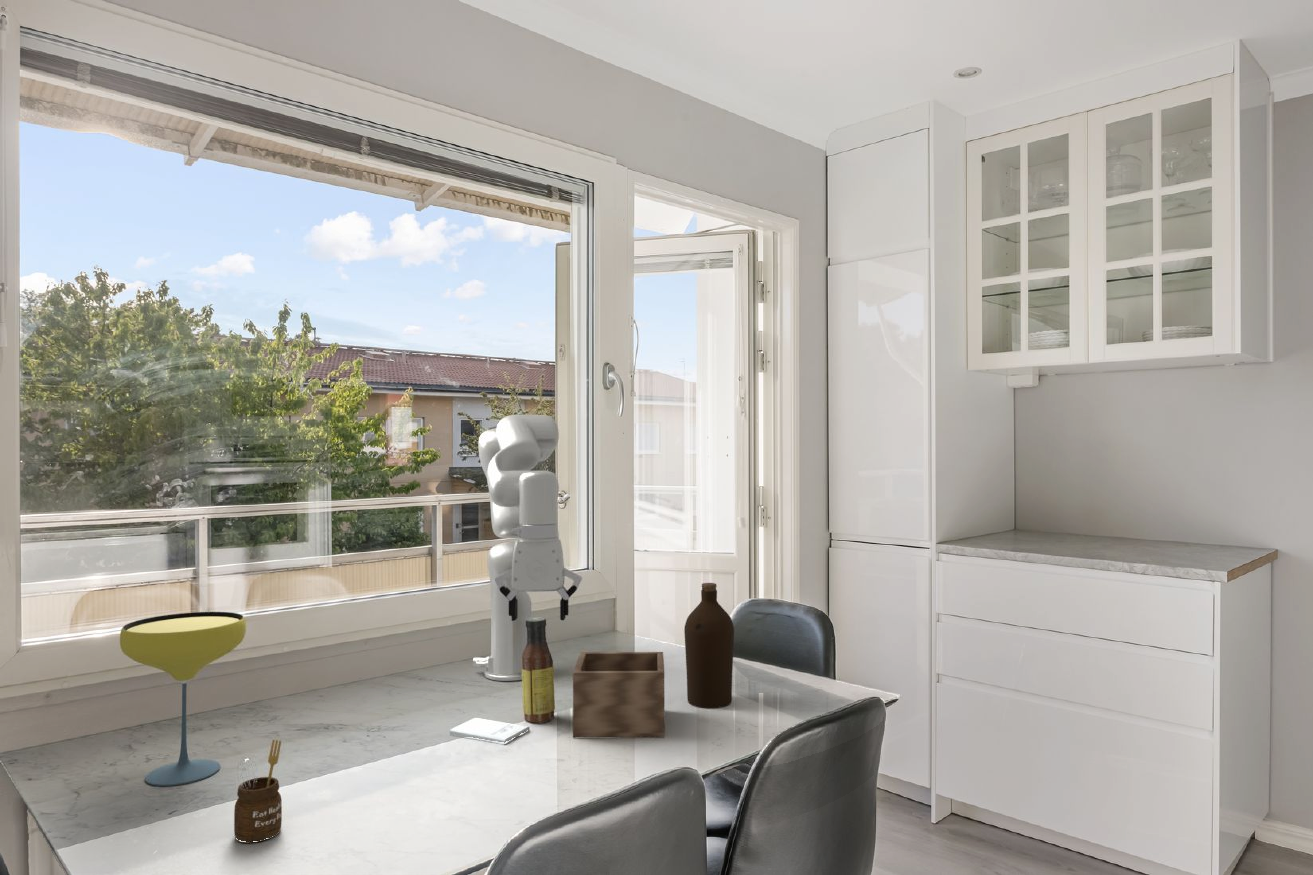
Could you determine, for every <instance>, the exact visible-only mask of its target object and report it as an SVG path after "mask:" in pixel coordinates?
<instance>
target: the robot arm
mask: <svg viewBox="0 0 1313 875" xmlns="http://www.w3.org/2000/svg"><path fill="white" fill-rule="evenodd" d="M559 433H560V431H559V425H557V422H556V420H555V419H554V418H553V417H552V416H550V415H547V414H510V415H507V416H504V417H502V418H501V419H500V420H499V421H498V423H497V425H496V428H490V429H487V430H485V431H483V432H482V433H481V434H480V436H479V438H478V444H477V445H478V446H477V447H478V456H479V461H480V465H481V469H482V470H483V473H484V475H485V477H486V481H487V488H488V492H489V502H490V519H491V520H490V521H491V527H492V532H493V534H494V535H495V536H496V537H498V538H500V539H517V540H515V541H507V542H501V543H497V544H495V545H493V546H492V547H491V548H490V549H489V550H488V553H487V560H486V561H487V568H488V575H489V584H490V585H489V586H490V599H491V600H490V601H491V602H490V604H491V605H490V609H491V610H490V611H491V612H490V615H491V617H490V618H491V619H490V626H491V631H490V634H491V635H490V636H491V637H490V638H491V639H490V641H491V642H490V647H491V648H490V652H491V653H490V655H486V657H481V656H480V657H479V656H478V657H477V656H473V660H472V664H473V666H475V667H476V668H483V667H484V668H486V669H485V670H484V677H485V678H487V679H488V680H492V681H498V682H499V681H500V682H511V681H512V682H513V681H514V682H515V681H522V653H523V651H524V649H525V647H526V645H527V628H526V620H527V619H529V618H532V598H531V596H530V594H529V593H528V592H530V593H531V592H535V593H536V592H557V593H558V594H559V596H560V597H561V599H560V601H559V610H560V611H559V619H560V620H561V621H565V620H566V616H569V613H570V612H569V599H570V597H572V595H574V594H575V593H576V591H577V590H578V589H579V586H580V584H581V582H582V581H583V576H582V575H580V574H578V573H576V572H574V571H572V570H569V568H566V567H565V561H564V560H565V559H564V553H563V547H562V546H563V545H562V540H561V539H560V535H559V534H560V533H559V525H558V524H559V523H558V497H559V492H560V491H559V490H560V488H559V487H560V486H559V485H560V484H559V480H558V478H557V475H556V474H555V473H554V472H552V471H549V470H533V469H534V468H536V466H537V465H538V463H540V462H545V461H546V460H548V459H549V458H550V457H551V455H552V454H553V452H554V451H555V449H556V447H557V446H558V443H559V438H560V435H559ZM566 577H567V578H569V579H570V580H572V581H573V583H572V585H571V586H570V587H569V588H568V589H567V588H566V587H565V586H564V585H565V578H566Z"/></svg>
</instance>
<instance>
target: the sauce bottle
mask: <svg viewBox="0 0 1313 875" xmlns="http://www.w3.org/2000/svg"><path fill="white" fill-rule="evenodd" d="M546 627H547V619H546V618H544V617H540V616H539V617H531V618H529V619H527V620H526V628H527V645H526V647H525V649H524V651H523V653H522V680H521V684H522V685H521V686H522V709H523V713H524V714H523V716H524V717H523V718H524V720H525V721H526V722H529V723H532V722H533V723H534V724H540V722H543V723H547V722H550V721H552V720H553V719H554V718H555V709H556V706H555V704H556V702H555V701H556V700H555V678H554V677H555V676H554V660H553V657H552V653H551V651H550V649H549V645H548V642H547V636H546V635H547V634H546V633H547V632H546V630H547V629H546ZM546 721H547V722H546ZM533 723H532V724H533Z"/></svg>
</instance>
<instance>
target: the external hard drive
mask: <svg viewBox="0 0 1313 875" xmlns="http://www.w3.org/2000/svg"><path fill="white" fill-rule="evenodd" d="M527 730H529V731H530V726H527V725H520V724H515V723H508V722H504V721H498V720H492V719H485V718H480V717H474V718H471V719H470V720H468V721H465V722H463V723H461V724H459V725H457V726H454V727H453V728H450V729H449V736H452V737H457V736H458V737H457V738H463V737H473V738H479V739H485V740H490V741H498V742H504V743H505V742H506V741H509V740H511V739H512V738H514V737H516V738H518V737H517V736H519V735H520V734H521V733H524V732H526V731H527ZM519 737H520V736H519Z"/></svg>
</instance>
